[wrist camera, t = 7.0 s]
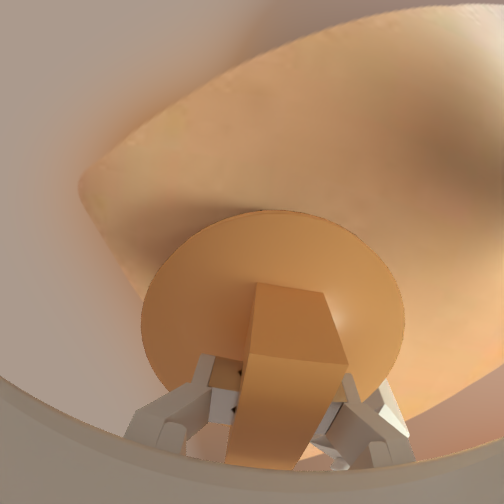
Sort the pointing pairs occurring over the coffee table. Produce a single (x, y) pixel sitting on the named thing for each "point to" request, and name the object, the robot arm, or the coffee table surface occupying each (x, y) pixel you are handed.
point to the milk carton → (381, 404)
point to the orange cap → (275, 323)
